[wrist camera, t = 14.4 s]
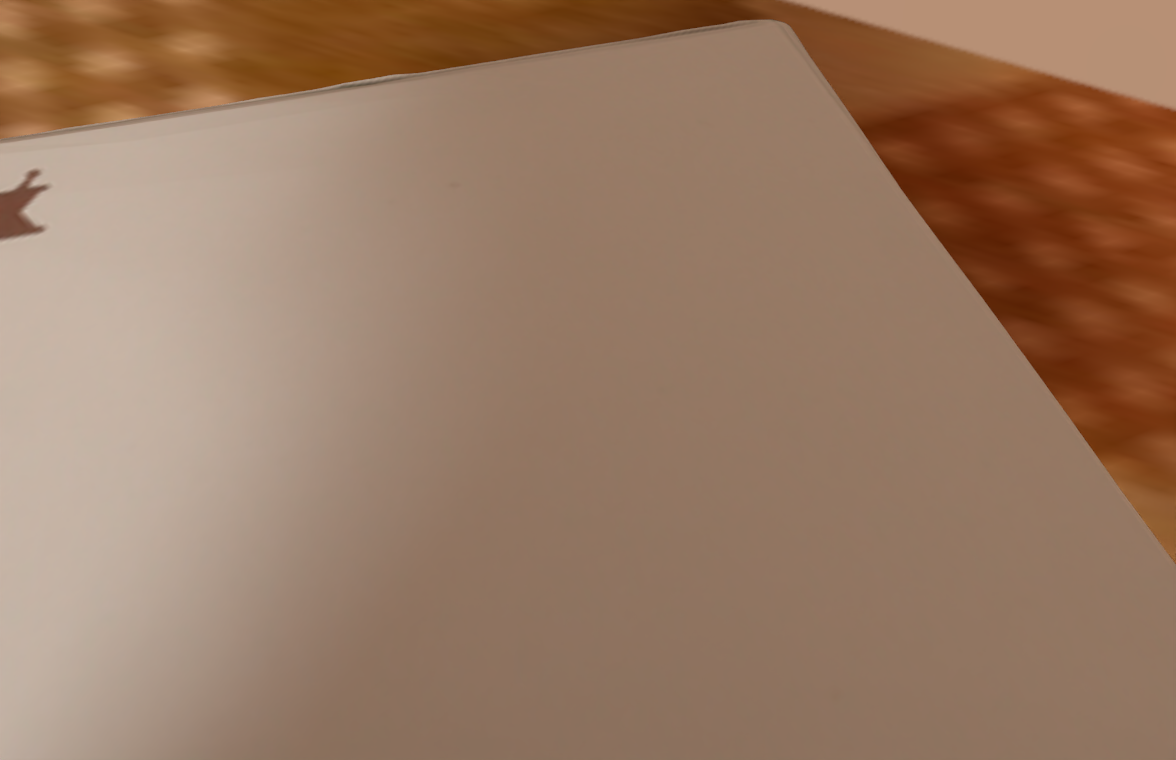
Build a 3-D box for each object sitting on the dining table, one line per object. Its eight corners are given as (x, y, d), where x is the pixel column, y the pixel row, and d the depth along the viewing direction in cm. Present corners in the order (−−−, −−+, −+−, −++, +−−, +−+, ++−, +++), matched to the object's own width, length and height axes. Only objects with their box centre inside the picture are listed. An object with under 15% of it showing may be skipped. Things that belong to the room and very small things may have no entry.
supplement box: (382, 977, 13) (-625, 2095, 2) (326, 573, 16) (-134, 108, 5) (762, 828, 14) (1501, 941, 3) (636, 486, 18) (788, -22, 7)
